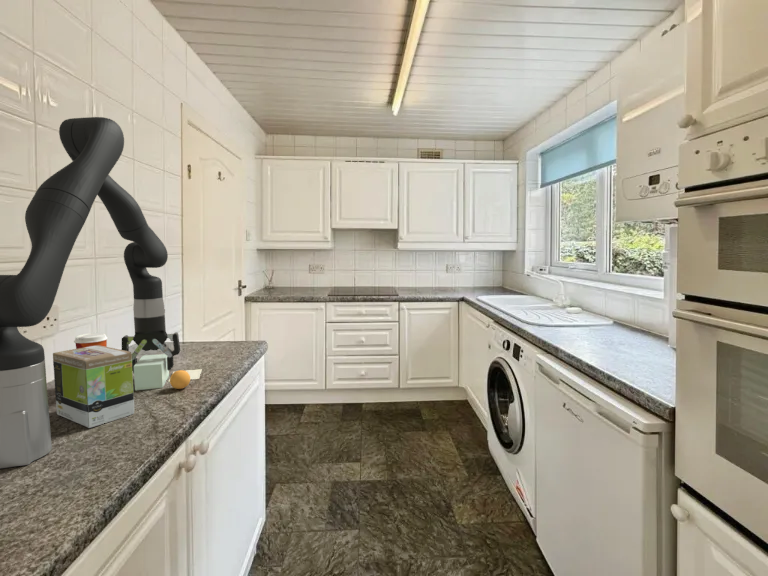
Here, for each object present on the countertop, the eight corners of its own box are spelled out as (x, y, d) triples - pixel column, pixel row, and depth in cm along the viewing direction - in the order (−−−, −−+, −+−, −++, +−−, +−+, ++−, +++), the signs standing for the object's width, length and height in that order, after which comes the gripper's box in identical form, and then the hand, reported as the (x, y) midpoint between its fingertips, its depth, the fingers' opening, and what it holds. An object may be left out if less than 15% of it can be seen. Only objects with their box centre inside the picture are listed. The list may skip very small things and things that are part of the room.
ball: (189, 390, 112) (188, 372, 112) (168, 392, 110) (167, 374, 110) (191, 384, 117) (190, 367, 116) (171, 386, 115) (170, 368, 115)
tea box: (136, 413, 97) (133, 350, 95) (88, 430, 88) (83, 361, 87) (102, 401, 104) (98, 342, 103) (55, 415, 96) (50, 351, 94)
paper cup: (93, 390, 112) (90, 338, 111) (69, 388, 113) (66, 337, 112) (117, 381, 120) (114, 332, 118) (95, 379, 121) (91, 331, 120)
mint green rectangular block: (162, 387, 114) (161, 364, 113) (135, 390, 112) (133, 366, 111) (169, 375, 125) (168, 353, 124) (144, 377, 123) (143, 355, 122)
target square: (199, 379, 121) (199, 378, 121) (168, 382, 119) (168, 381, 119) (201, 369, 131) (201, 369, 131) (173, 372, 128) (173, 371, 128)
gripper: (116, 317, 111) (120, 377, 113) (175, 315, 115) (178, 372, 117) (123, 313, 118) (127, 369, 120) (179, 310, 122) (182, 365, 124)
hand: (152, 370), depth 118 cm, fingers open, 8 cm apart
